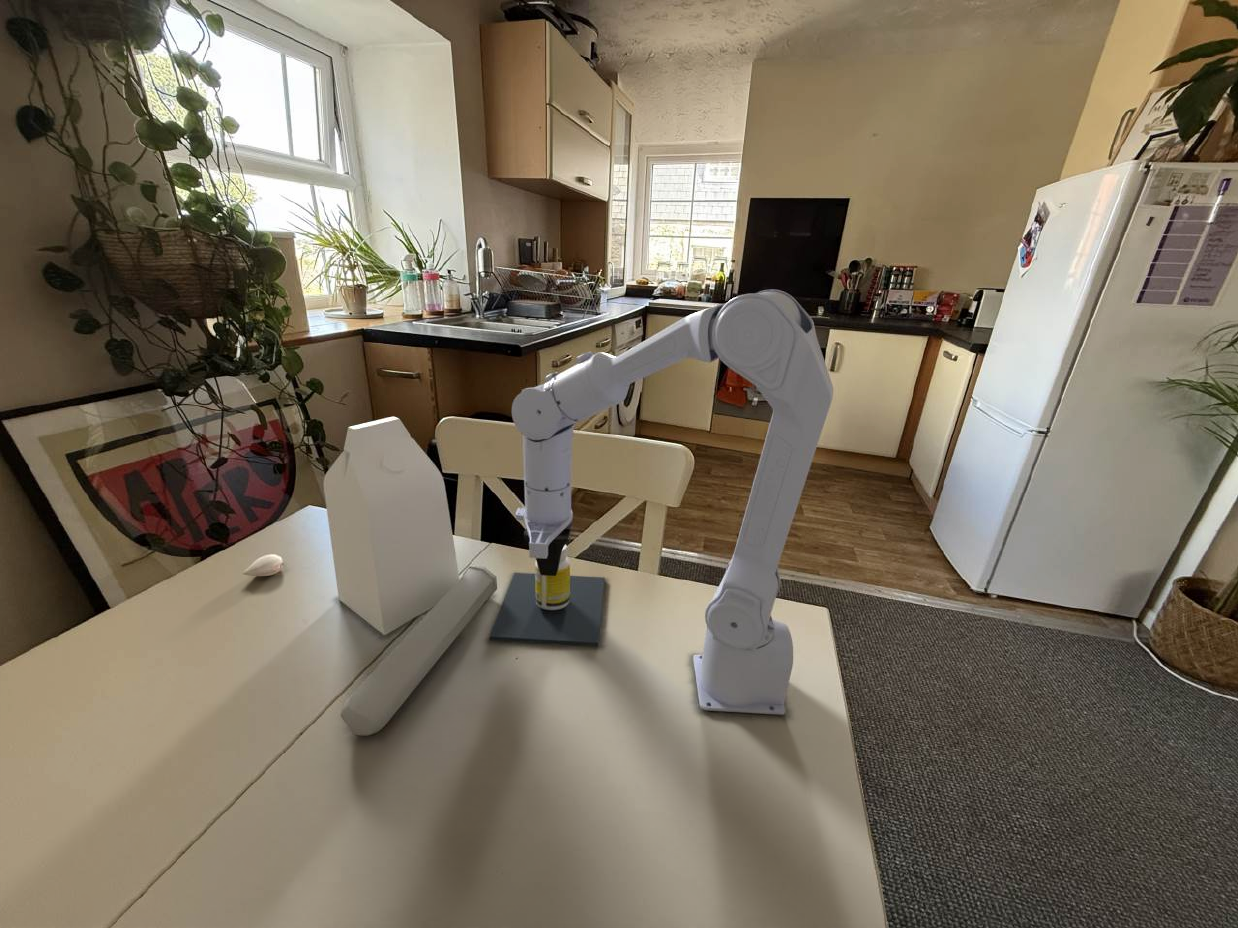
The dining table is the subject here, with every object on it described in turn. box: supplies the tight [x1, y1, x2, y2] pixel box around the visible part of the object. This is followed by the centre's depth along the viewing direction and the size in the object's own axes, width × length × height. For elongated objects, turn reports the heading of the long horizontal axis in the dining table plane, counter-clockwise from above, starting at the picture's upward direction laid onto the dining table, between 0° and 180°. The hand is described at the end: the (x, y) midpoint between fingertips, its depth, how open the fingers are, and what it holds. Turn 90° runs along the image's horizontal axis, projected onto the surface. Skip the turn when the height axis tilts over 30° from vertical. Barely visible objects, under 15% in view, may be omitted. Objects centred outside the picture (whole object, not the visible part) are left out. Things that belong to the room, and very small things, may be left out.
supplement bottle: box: [534, 543, 571, 610], centre depth 69 cm, size 5×5×8 cm
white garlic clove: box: [243, 553, 284, 577], centre depth 74 cm, size 4×5×2 cm
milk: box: [323, 416, 461, 636], centre depth 66 cm, size 12×12×26 cm
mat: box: [489, 572, 606, 647], centre depth 70 cm, size 14×14×1 cm
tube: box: [339, 564, 498, 736], centre depth 60 cm, size 5×5×25 cm
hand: (548, 573), depth 66 cm, fingers closed
